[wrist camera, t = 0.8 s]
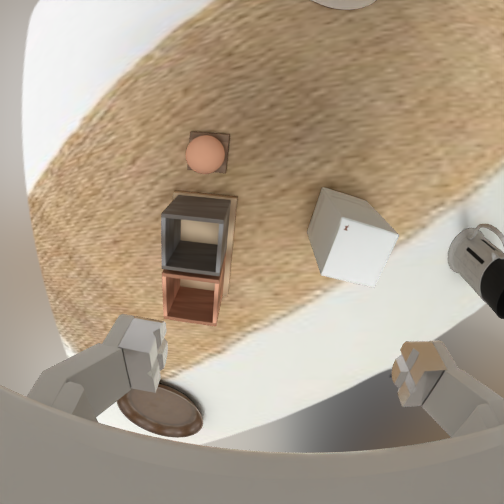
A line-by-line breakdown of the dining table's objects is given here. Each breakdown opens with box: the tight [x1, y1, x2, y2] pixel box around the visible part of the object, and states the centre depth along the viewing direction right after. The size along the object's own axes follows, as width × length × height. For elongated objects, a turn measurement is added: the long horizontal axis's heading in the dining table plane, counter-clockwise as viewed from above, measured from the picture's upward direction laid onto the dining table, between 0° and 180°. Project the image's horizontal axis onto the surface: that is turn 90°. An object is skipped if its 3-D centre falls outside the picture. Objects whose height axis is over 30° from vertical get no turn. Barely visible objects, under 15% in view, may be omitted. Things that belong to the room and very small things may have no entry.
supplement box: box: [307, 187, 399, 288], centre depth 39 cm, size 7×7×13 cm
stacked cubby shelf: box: [161, 191, 237, 326], centre depth 44 cm, size 16×9×9 cm, turn 174°
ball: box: [186, 135, 225, 174], centre depth 39 cm, size 5×5×5 cm
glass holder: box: [448, 224, 504, 319], centre depth 38 cm, size 9×14×15 cm, turn 31°
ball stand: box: [188, 132, 230, 173], centre depth 41 cm, size 5×5×1 cm
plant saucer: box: [117, 384, 203, 437], centre depth 65 cm, size 21×21×3 cm
